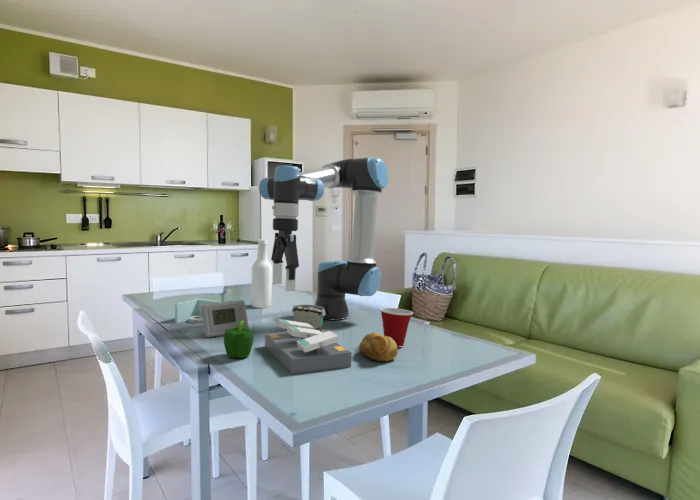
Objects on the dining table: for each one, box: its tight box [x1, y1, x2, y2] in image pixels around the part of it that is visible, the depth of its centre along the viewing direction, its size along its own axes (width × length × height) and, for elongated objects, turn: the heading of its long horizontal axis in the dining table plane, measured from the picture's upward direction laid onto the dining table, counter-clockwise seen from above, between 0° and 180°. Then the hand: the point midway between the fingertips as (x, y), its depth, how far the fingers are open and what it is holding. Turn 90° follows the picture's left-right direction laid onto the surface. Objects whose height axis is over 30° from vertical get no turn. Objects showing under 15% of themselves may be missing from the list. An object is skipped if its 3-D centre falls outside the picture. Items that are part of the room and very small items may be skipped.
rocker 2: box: [286, 326, 323, 338], centre depth 127 cm, size 10×6×2 cm, turn 117°
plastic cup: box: [379, 307, 414, 347], centre depth 141 cm, size 11×11×12 cm
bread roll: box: [358, 332, 399, 362], centre depth 129 cm, size 13×10×8 cm
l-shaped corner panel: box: [174, 298, 220, 324], centre depth 164 cm, size 12×12×8 cm
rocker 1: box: [277, 318, 314, 330], centre depth 135 cm, size 10×6×2 cm, turn 117°
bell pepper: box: [223, 321, 254, 359], centre depth 124 cm, size 8×8×10 cm
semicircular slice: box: [291, 304, 325, 332], centre depth 150 cm, size 12×6×10 cm, turn 65°
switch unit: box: [264, 329, 352, 375], centre depth 127 cm, size 17×26×6 cm, turn 26°
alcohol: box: [250, 239, 273, 309], centre depth 193 cm, size 9×9×30 cm
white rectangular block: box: [297, 330, 339, 352], centre depth 119 cm, size 10×6×2 cm, turn 116°
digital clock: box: [201, 299, 250, 338], centre depth 148 cm, size 16×9×11 cm, turn 123°
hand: (283, 287), depth 133 cm, fingers open, 13 cm apart
